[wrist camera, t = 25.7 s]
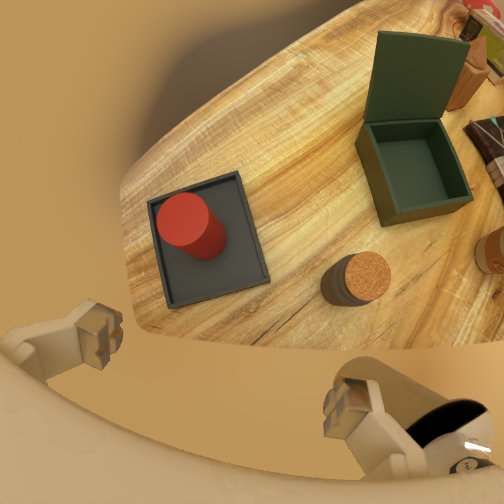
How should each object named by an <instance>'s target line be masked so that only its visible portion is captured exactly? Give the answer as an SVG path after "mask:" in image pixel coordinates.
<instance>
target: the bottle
mask: <svg viewBox="0 0 504 504" xmlns="http://www.w3.org/2000/svg"><path fill="white" fill-rule="evenodd" d="M390 280H391V273H390V268H389V266H388V264H387V262H386V261H385V260H384V258H383V257H381V256H380V255H378V254H377V253H374V252H361V253H358V254H352V255H348V256H346V257H344V258H342V259H341V260H340V261H338V262H337V263H336V264H335V265H333V266H332V267H331V268H330V269H329V270H327V271H326V273H325V274H324V275H323V277H322V280H321V292H322V295H323V296H324V298H325V299H326V300H327V301H328V302H329V303H331V304H333V305H336V306H349V307H355V306H363V305H366V304H368V303H370V302H371V301H373V300H375V299H378V298H379V297H381V296H382V295H383V294H384V293H385V292H386V291H387V289H388V287H389V284H390Z"/></svg>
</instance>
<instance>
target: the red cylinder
mask: <svg viewBox="0 0 504 504" xmlns="http://www.w3.org/2000/svg"><path fill="white" fill-rule="evenodd" d="M157 228H158V232H159V234H160V236H161V237H162V238H163V239H164V240H165V241H166V242H167V243H169V244H171V245H173V246H174V247H176V248H178V249H180V250H182V251H184V252H186V253H187V254H189V255H191V256H193V257H195V258H197V259H200V260H211V259H214V258H215V257H217V256H219V255H220V254H221V253H222V251H223V250H224V248H225V246H226V243H227V233H226V230H225V228H224V226H223V225H222V224H221V222H220V221H219V220H218V218H217V217H216V216H215V215H214V213H213V212H212V211H211V209H210V208H209V207H208V206H207V204H206V203H205V202H204V201H203V199H202V198H200V197H199V196H197V195H195V194H193V193H187V192H186V193H179V194H176V195H173V196H172V197H170V198H169V199H167V200H166V201H165V202H164V204H163V205H162V206H161V208H160V210H159V212H158V216H157Z"/></svg>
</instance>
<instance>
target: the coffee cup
mask: <svg viewBox="0 0 504 504" xmlns="http://www.w3.org/2000/svg"><path fill="white" fill-rule="evenodd" d="M475 259H476V263H477V265H478V267H479V268H480V269H481V270H482V271H483V272H485V273H487V274H496V273H497V274H502V273H504V226H503V227H501V228H500V229H498V230H496V231H494V232H492V233H491V234H490V235H488V236H486V237H484V238H482V239H481V240H480V241H479V242H478V244H477V246H476V250H475Z"/></svg>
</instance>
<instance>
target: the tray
mask: <svg viewBox="0 0 504 504" xmlns="http://www.w3.org/2000/svg"><path fill="white" fill-rule="evenodd" d="M186 192H187V193H193V194H195V195H197V196H199V197H200V198H202V199H203V201H204V202H205V203H206V204H207V206H208V207H209V208H210V209H211V211H212V212H213V213H214V215H215V216H216V217H217V218H218V220H219V221H220V222H221V224H222V225H223V226H224V228H225V230H226V233H227V243H226V246H225V248H224V250H223V251H222V253H221V254H220V255H219V256H217V257H215V258H214V259H211V260H200V259H197V258H195V257H193V256H191V255H189V254H187V253H186V252H184V251H182V250H180V249H178V248H176V247H174V246H173V245H171V244H169V243H167V242H166V241H165V240H164V239H163V238H162V237H161V236H160V234H159V232H158V228H157V216H158V212H159V210H160V208H161V206H162V205H163V204H164V202H165V201H166V200H167V199H169V198H170V197H172V196H173V195H176V194H179V193H186ZM147 207H148V213H149V219H150V225H151V231H152V236H153V242H154V247H155V252H156V257H157V262H158V267H159V271H160V276H161V281H162V285H163V290H164V294H165V298H166V302H167V307H168V309H175V308H179V307H183V306H187V305H190V304H194V303H198V302H202V301H205V300H209V299H213V298H216V297H220V296H224V295H227V294H231V293H234V292H238V291H242V290H245V289H249V288H252V287H256V286H259V285H263V284H266V283H270V282H271V281H270V277H269V274H268V270H267V267H266V263H265V260H264V257H263V253H262V250H261V246H260V243H259V239H258V236H257V232H256V229H255V226H254V222H253V219H252V215H251V212H250V209H249V205H248V202H247V198H246V195H245V192H244V188H243V185H242V181H241V178H240V175H239V172H238V170H237V171H234V172H231V173H228V174H224V175H221V176H218V177H215V178H212V179H209V180H206V181H203V182H200V183H197V184H194V185H191V186H188V187H185V188H182V189H179V190H176V191H174V192H171V193H168V194H165V195H162V196H160V197H157V198H154V199H152V200H149V201H147Z"/></svg>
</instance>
